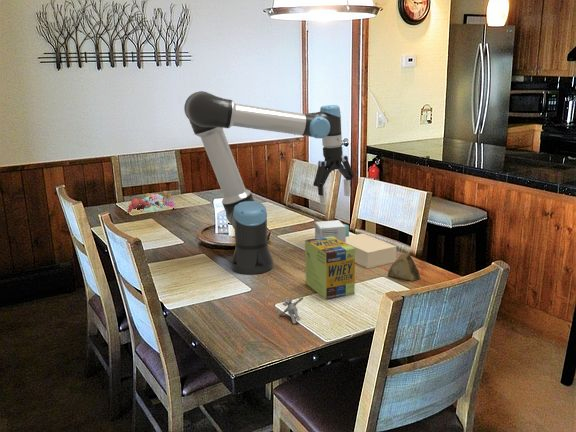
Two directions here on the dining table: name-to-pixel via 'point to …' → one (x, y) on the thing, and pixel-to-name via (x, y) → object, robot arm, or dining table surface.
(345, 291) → the protein box
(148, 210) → the candy landscape model
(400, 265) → the rock
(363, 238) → the sleeve
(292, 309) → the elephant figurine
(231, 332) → the dining table surface
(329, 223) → the supplement box
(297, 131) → the robot arm
